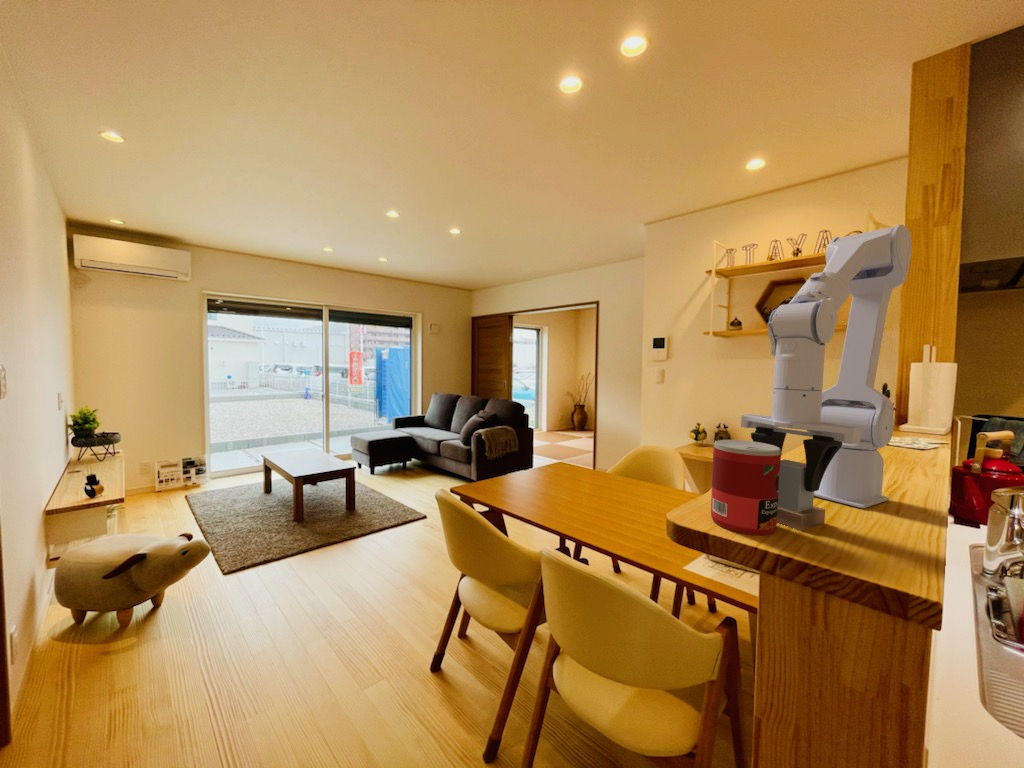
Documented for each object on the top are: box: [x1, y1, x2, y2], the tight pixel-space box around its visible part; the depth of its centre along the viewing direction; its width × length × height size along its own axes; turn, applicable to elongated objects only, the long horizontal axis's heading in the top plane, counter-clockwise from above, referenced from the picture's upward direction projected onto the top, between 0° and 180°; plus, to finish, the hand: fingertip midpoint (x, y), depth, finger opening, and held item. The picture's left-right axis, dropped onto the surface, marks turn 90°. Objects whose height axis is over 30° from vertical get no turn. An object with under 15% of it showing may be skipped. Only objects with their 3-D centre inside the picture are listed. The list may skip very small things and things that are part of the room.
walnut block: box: [777, 505, 826, 532], centre depth 60 cm, size 6×6×2 cm
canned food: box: [710, 439, 782, 536], centre depth 58 cm, size 8×8×11 cm
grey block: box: [778, 459, 815, 513], centre depth 60 cm, size 4×4×6 cm
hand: (791, 485), depth 60 cm, fingers open, 5 cm apart
